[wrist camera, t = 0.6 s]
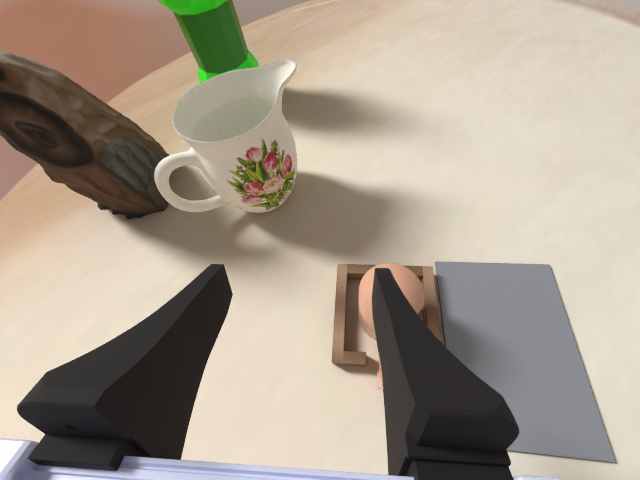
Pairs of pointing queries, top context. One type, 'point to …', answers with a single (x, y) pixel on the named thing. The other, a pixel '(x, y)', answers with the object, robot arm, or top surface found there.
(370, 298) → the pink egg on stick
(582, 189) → the top surface
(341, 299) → the holder
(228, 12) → the plastic bottle
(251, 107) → the pitcher
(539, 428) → the mat
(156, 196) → the owl
